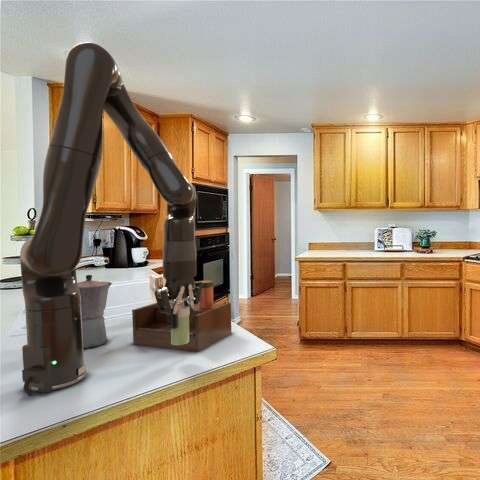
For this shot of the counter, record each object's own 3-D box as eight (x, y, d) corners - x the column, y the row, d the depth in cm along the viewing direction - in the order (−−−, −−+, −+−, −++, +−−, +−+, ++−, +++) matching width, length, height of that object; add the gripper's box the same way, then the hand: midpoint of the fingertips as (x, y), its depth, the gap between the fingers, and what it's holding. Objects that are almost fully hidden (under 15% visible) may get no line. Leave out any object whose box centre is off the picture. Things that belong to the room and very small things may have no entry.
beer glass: (147, 319, 125) (146, 277, 124) (153, 314, 131) (152, 274, 130) (169, 318, 127) (168, 277, 126) (174, 313, 133) (172, 274, 132)
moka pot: (124, 337, 107) (121, 272, 105) (70, 357, 92) (66, 281, 90) (100, 334, 109) (97, 270, 108) (44, 353, 94) (40, 279, 93)
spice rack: (198, 351, 96) (197, 315, 95) (133, 343, 101) (132, 309, 101) (231, 333, 111) (230, 302, 110) (172, 327, 116) (171, 298, 115)
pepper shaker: (207, 309, 105) (207, 283, 105) (195, 308, 106) (195, 282, 106) (216, 306, 109) (216, 280, 109) (205, 305, 110) (204, 280, 110)
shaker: (180, 346, 87) (180, 310, 86) (166, 344, 88) (166, 308, 87) (193, 340, 91) (193, 306, 90) (179, 338, 92) (179, 304, 92)
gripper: (188, 255, 96) (188, 316, 97) (143, 260, 82) (144, 332, 83) (211, 256, 94) (211, 319, 95) (170, 262, 80) (170, 335, 81)
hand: (180, 325), depth 89 cm, fingers closed on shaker, 4 cm apart
